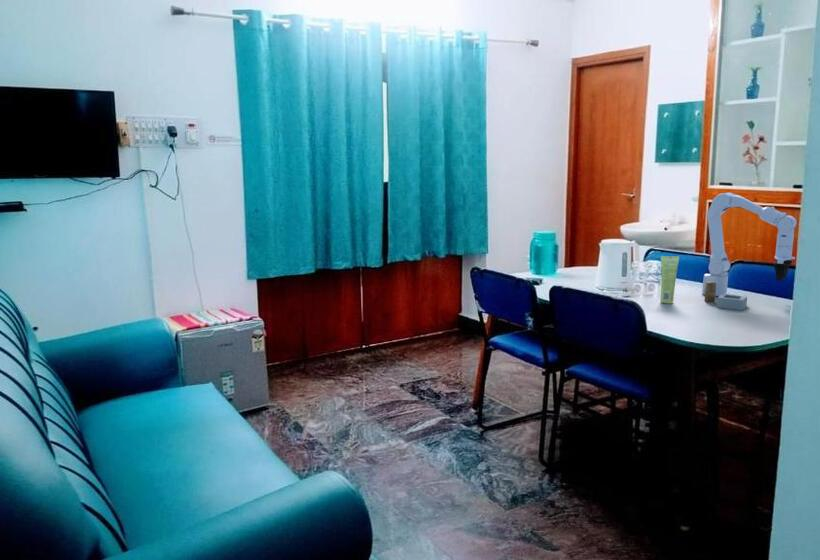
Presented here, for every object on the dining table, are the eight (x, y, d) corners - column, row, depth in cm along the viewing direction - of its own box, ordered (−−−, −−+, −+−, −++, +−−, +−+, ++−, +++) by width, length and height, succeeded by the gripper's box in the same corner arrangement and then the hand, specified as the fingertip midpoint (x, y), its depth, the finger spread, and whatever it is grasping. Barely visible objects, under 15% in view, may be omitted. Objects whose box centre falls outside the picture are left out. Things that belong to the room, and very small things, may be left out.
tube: (664, 300, 266) (667, 254, 263) (676, 302, 263) (679, 256, 259) (657, 302, 263) (660, 256, 259) (669, 304, 259) (672, 257, 255)
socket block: (716, 307, 253) (717, 297, 253) (722, 303, 260) (722, 293, 260) (741, 310, 248) (742, 300, 247) (746, 306, 255) (747, 296, 254)
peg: (703, 301, 264) (704, 282, 262) (705, 299, 267) (707, 281, 265) (713, 302, 261) (715, 283, 260) (716, 301, 264) (717, 282, 263)
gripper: (793, 248, 248) (789, 282, 250) (798, 244, 259) (794, 277, 262) (772, 247, 252) (769, 280, 255) (778, 243, 263) (775, 275, 266)
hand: (780, 278), depth 258 cm, fingers open, 7 cm apart
